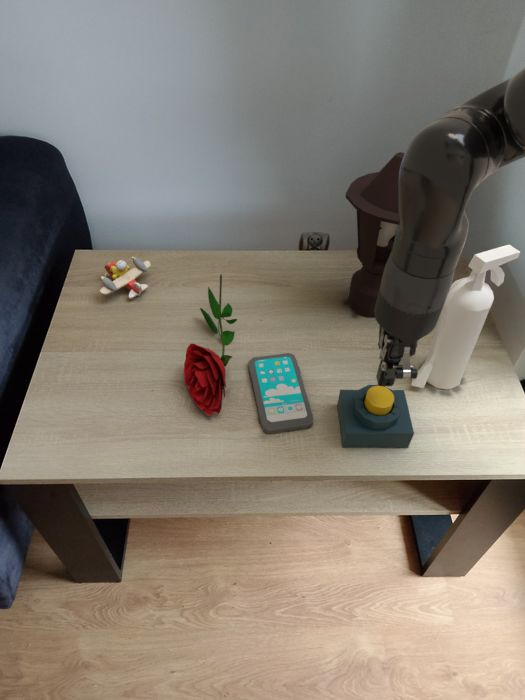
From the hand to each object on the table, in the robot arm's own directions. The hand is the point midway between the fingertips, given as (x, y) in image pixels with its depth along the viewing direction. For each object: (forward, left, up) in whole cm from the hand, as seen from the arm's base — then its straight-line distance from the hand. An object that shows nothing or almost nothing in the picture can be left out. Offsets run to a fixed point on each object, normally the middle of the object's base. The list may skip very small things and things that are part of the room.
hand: (384, 381), depth 72 cm
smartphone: (+15, +3, -11) cm, 19 cm away
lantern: (+13, -25, -11) cm, 30 cm away
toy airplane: (+54, -2, -11) cm, 55 cm away
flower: (+30, +2, -11) cm, 32 cm away
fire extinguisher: (-5, -15, -11) cm, 19 cm away
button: (0, 0, -5) cm, 5 cm away
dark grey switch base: (0, 0, -11) cm, 11 cm away
